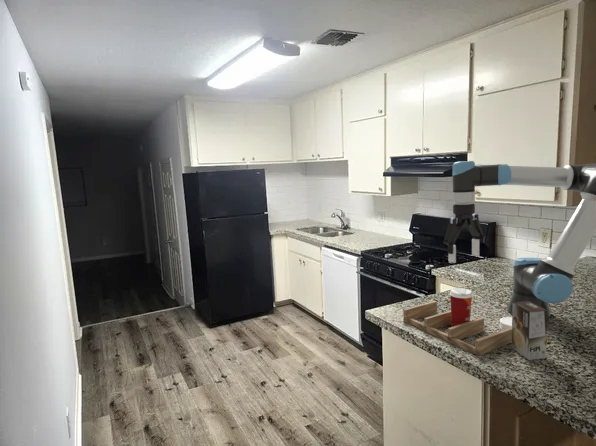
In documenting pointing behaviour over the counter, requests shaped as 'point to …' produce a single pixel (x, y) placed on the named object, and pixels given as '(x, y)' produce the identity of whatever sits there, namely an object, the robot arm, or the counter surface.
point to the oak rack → (456, 329)
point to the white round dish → (505, 323)
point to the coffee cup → (460, 305)
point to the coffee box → (529, 330)
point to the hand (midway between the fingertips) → (464, 258)
